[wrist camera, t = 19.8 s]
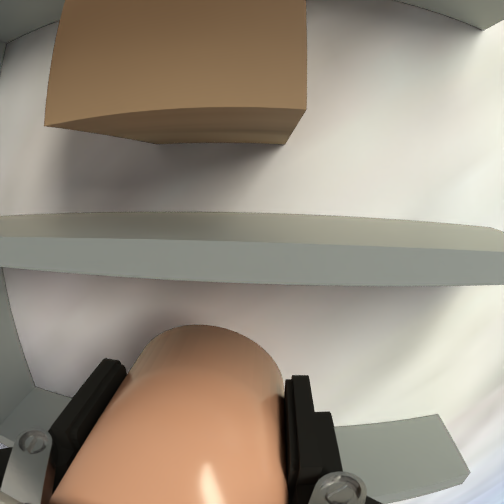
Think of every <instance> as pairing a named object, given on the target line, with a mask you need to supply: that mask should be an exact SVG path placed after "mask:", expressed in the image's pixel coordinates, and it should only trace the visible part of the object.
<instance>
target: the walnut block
mask: <svg viewBox="0 0 504 504" xmlns="http://www.w3.org/2000/svg"><path fill="white" fill-rule="evenodd" d="M306 106H307V26H306V0H65V2H64V6H63V10H62V14H61V18H60V22H59V26H58V30H57V35H56V40H55V45H54V50H53V56H52V61H51V68H50V74H49V81H48V89H47V98H46V108H45V121H44V126H47V127H55V128H63V129H70V130H78V131H84V132H91V133H97V134H103V135H110V136H115V137H121V138H127V139H132V140H138V141H143V142H148V143H153V144H172V143H267V144H285V143H286V142H287V140H288V139H289V137H290V135H291V134H292V132H293V130H294V129H295V127H296V126H297V124H298V122H299V121H300V119H301V118H302V116H303V114H304V113H305V111H306Z"/></svg>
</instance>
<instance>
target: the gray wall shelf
mask: <svg viewBox="0 0 504 504" xmlns="http://www.w3.org/2000/svg"><path fill="white" fill-rule="evenodd" d="M395 1H399V2H403V3H407V4H410V5H414V6H417V7H421V8H424V9H427V10H431V11H434V12H437V13H440V14H443V15H445V16H448V17H451V18H454V19H456V20H459V21H462V22H464V23H467V24H469V25H472V26H474V27H476V28H479V29H481V30H483V31H484V30H485V29H487V28H489V27H491V26H493V25H495V24H496V23H498V22H500V21H502V20H504V0H395ZM64 2H65V0H0V73H1V68H2V62H3V57H4V52H5V47H6V43H8V42H10V41H12V40H14V39H16V38H18V37H20V36H23V35H25V34H27V33H29V32H31V31H34V30H36V29H38V28H41V27H43V26H45V25H48V24H50V23H53V22H56V21H58V20H60V18H61V14H62V10H63V6H64ZM2 267H7V268H18V269H28V270H39V271H50V272H62V273H75V274H88V275H101V276H116V277H131V278H147V279H164V280H183V281H203V282H225V283H251V284H283V285H325V286H471V285H504V232H503V231H500V230H497V229H494V228H491V227H481V226H470V225H460V224H448V223H436V222H424V221H410V220H396V219H381V218H365V217H347V216H326V215H303V214H276V213H238V212H93V213H58V214H33V215H12V216H0V443H2V444H4V445H6V446H7V447H13V446H14V443H15V440H16V438H17V436H18V435H19V434H20V433H21V432H22V431H24V430H26V429H28V428H35V427H38V428H42V429H44V430H46V431H48V430H49V429H50V428H51V426H52V424H53V423H54V422H55V420H56V419H57V418H58V416H59V415H60V414H61V412H62V411H63V410H64V409H65V407H66V406H67V405H68V403H69V402H70V401H71V399H72V398H70V397H66V396H63V395H59V394H56V393H53V392H50V391H47V390H44V389H41V388H38V387H35V385H34V382H33V379H32V377H31V374H30V371H29V369H28V366H27V363H26V360H25V357H24V354H23V351H22V348H21V345H20V341H19V338H18V335H17V331H16V328H15V324H14V320H13V316H12V313H11V308H10V304H9V300H8V296H7V291H6V286H5V281H4V276H3V271H2ZM334 429H335V434H336V439H337V444H338V448H339V453H340V458H341V463H342V468H343V472H349V473H352V474H355V475H356V476H358V477H360V478H361V479H362V480H363V481H364V483H365V485H366V488H367V496H369V497H371V498H373V499H374V500H376V501H378V502H380V503H382V504H387V503H392V502H397V501H402V500H406V499H411V498H415V497H419V496H423V495H427V494H430V493H434V492H437V491H441V490H444V489H447V488H450V487H454V486H457V485H460V484H462V483H463V482H464V481H465V479H466V478H467V477H468V475H469V474H470V471H469V469H468V467H467V465H466V463H465V461H464V459H463V457H462V456H461V454H460V452H459V450H458V448H457V446H456V445H455V443H454V441H453V439H452V437H451V436H450V434H449V432H448V430H447V428H446V427H445V425H444V423H443V421H442V420H441V418H440V416H439V415H438V414H436V415H431V416H426V417H420V418H414V419H407V420H400V421H393V422H385V423H376V424H366V425H355V426H341V427H334Z"/></svg>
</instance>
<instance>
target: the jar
mask: <svg viewBox="0 0 504 504" xmlns="http://www.w3.org/2000/svg"><path fill="white" fill-rule="evenodd" d="M49 504H288V488H287V465H286V436H285V411H284V383H283V378H282V375H281V372H280V370H279V368H278V366H277V364H276V363H275V361H274V360H273V359H272V357H271V356H270V355H269V354H268V353H267V352H266V351H265V350H264V349H263V348H262V347H260V346H259V345H258V344H257V343H255V342H254V341H252V340H250V339H249V338H247V337H245V336H243V335H241V334H239V333H237V332H234V331H231V330H228V329H225V328H221V327H217V326H210V325H186V326H180V327H176V328H173V329H170V330H167V331H165V332H163V333H161V334H159V335H158V336H156V337H155V338H154V339H153V340H151V341H150V342H149V343H148V345H147V346H146V347H145V348H144V350H143V351H142V353H141V354H140V356H139V357H138V359H137V361H136V362H135V364H134V365H133V367H132V368H131V370H130V371H129V373H128V374H127V376H126V377H125V379H124V380H123V382H122V383H121V385H120V387H119V388H118V390H117V391H116V393H115V394H114V396H113V397H112V399H111V401H110V402H109V404H108V405H107V407H106V408H105V410H104V412H103V413H102V415H101V416H100V418H99V419H98V421H97V423H96V424H95V426H94V427H93V429H92V431H91V432H90V434H89V435H88V437H87V439H86V440H85V442H84V444H83V445H82V447H81V448H80V450H79V452H78V453H77V455H76V457H75V458H74V460H73V462H72V463H71V465H70V467H69V468H68V470H67V472H66V473H65V475H64V477H63V478H62V480H61V482H60V483H59V485H58V487H57V488H56V490H55V492H54V494H53V495H52V497H51V499H50V501H49Z"/></svg>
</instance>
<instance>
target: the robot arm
mask: <svg viewBox="0 0 504 504" xmlns="http://www.w3.org/2000/svg"><path fill="white" fill-rule="evenodd" d="M126 376H127V373H126V369H125V366H124V365H121V362H120V361H118V360H112V359H107V358H105V359H103V360H102V362H101V363H100V364H99V365H98V367H97V368H96V369H95V370H94V372H93V373H92V374H91V375H90V377H89V378H88V379H87V380H86V382H85V383H84V384H83V385H82V387H81V388H80V389H79V390H78V392H77V393H76V394H75V396H74V397H73V398H72V399H71V401H70V402H69V403H68V405H67V406H66V407H65V409H64V410H63V411H62V412H61V414H60V415H59V416H58V418H57V419H56V420H55V422H54V423H53V424H52V426H51V428H50V429H49V430H48V431H46V430H44V429H42V428H38V427H35V428H28V429H26V430H24V431H22V432H21V433H20V434H19V435H18V436H17V438H16V440H15V443H14V446H13V447H9V448H4V449H0V504H49V501H50V499H51V497H52V495H53V494H54V492H55V490H56V488H57V487H58V485H59V483H60V482H61V480H62V478H63V477H64V475H65V473H66V472H67V470H68V468H69V467H70V465H71V463H72V462H73V460H74V458H75V457H76V455H77V453H78V452H79V450H80V448H81V447H82V445H83V444H84V442H85V440H86V439H87V437H88V435H89V434H90V432H91V431H92V429H93V427H94V426H95V424H96V423H97V421H98V419H99V418H100V416H101V415H102V413H103V412H104V410H105V408H106V407H107V405H108V404H109V402H110V401H111V399H112V397H113V396H114V394H115V393H116V391H117V390H118V388H119V387H120V385H121V383H122V382H123V380H124V379H125V377H126ZM284 411H285V436H286V465H287V488H288V504H382V503H380V502H378V501H376V500H374V499H373V498H371V497H369V496H367V488H366V485H365V483H364V481H363V480H362V479H361V478H360V477H358V476H356V475H355V474H352V473H349V472H343V468H342V463H341V458H340V453H339V448H338V444H337V439H336V434H335V429H334V424H333V420H332V416H331V413H330V412H314V405H313V399H312V393H311V387H310V381H309V376H308V375H292V379H286V381H285V391H284Z"/></svg>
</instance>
